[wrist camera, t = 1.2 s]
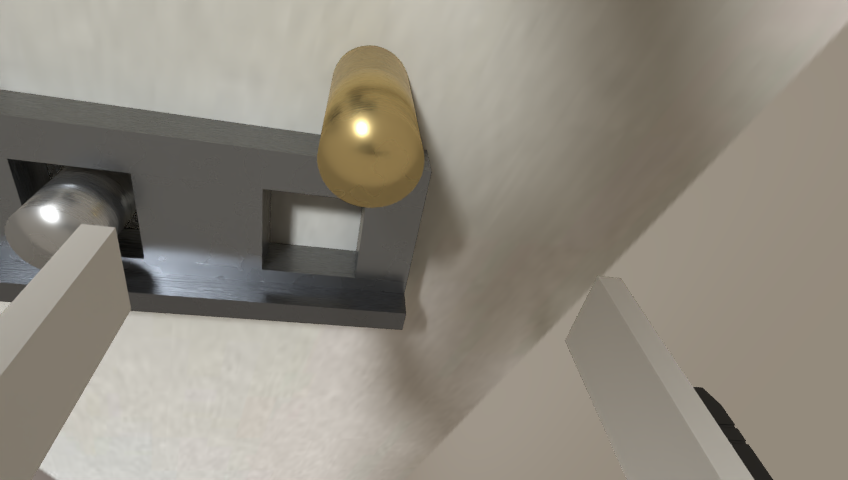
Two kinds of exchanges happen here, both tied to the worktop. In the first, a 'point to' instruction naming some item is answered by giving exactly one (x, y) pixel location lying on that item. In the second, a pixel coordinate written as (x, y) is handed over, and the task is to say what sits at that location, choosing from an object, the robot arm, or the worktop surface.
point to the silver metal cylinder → (69, 211)
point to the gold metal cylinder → (370, 131)
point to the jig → (209, 214)
